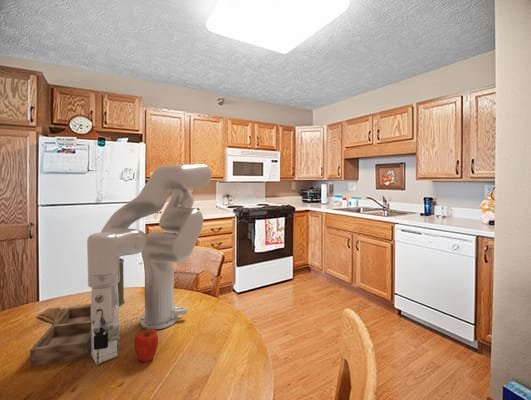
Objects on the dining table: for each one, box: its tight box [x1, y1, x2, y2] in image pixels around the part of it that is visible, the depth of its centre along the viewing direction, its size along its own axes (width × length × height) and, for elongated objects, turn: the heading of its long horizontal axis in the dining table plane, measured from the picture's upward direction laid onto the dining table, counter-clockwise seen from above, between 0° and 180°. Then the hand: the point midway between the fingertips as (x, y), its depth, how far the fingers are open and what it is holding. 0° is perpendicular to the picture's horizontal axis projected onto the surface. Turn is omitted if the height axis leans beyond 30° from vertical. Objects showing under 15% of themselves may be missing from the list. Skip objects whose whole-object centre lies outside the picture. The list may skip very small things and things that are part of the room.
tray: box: [29, 305, 91, 367], centre depth 85 cm, size 13×25×4 cm, turn 17°
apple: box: [133, 329, 159, 363], centre depth 75 cm, size 6×6×8 cm
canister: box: [118, 257, 125, 307], centre depth 108 cm, size 11×10×20 cm
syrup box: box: [90, 305, 120, 365], centre depth 76 cm, size 6×6×14 cm
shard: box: [37, 306, 67, 324], centre depth 97 cm, size 11×8×2 cm
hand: (105, 339), depth 76 cm, fingers closed on syrup box, 7 cm apart
